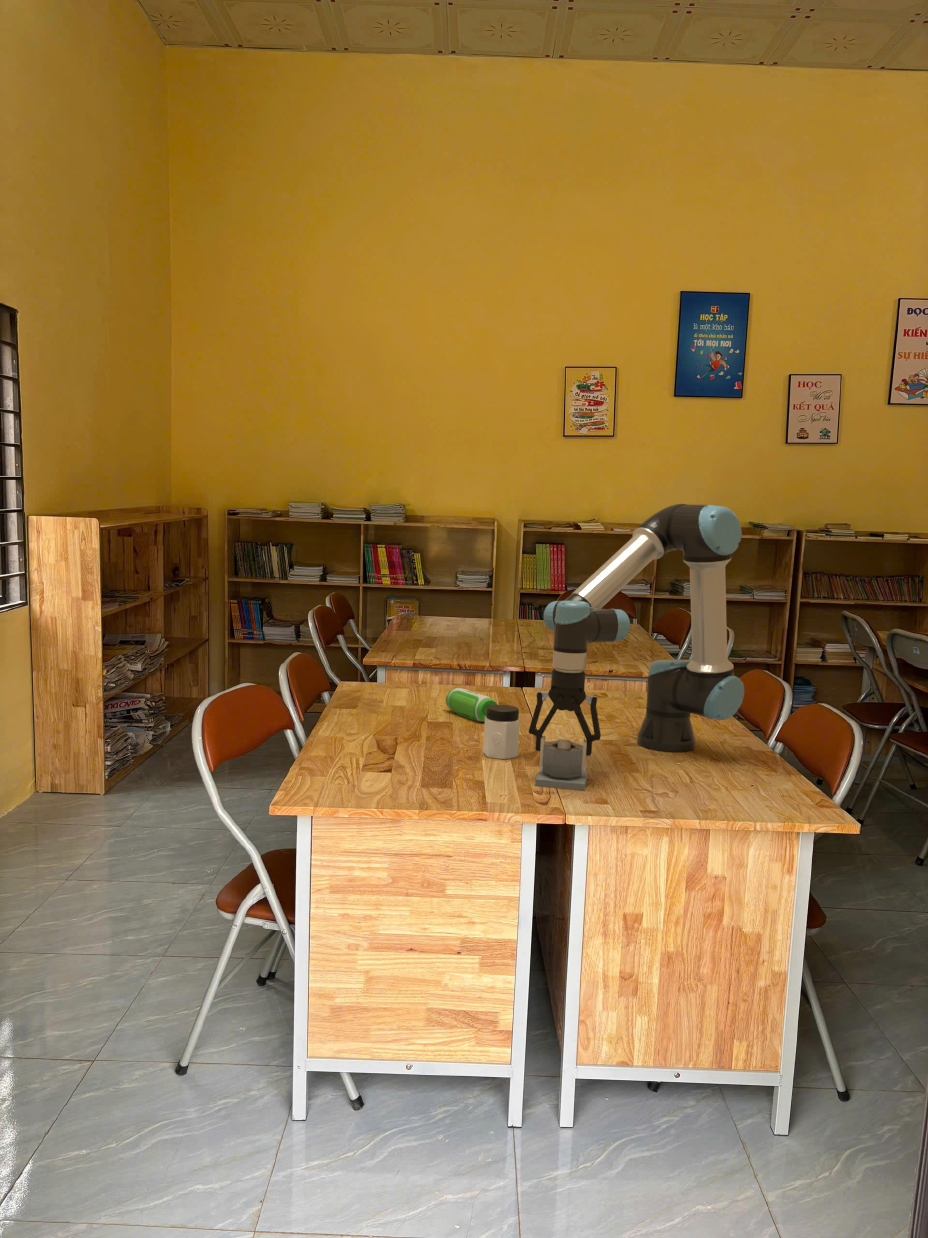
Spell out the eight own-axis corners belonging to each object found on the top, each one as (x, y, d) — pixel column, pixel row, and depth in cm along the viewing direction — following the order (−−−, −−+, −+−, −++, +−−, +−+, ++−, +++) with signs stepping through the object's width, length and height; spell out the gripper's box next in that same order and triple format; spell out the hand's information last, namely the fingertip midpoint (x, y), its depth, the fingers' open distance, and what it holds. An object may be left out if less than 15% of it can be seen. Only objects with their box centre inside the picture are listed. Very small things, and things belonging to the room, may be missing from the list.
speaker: (499, 722, 281) (500, 697, 280) (478, 725, 277) (479, 699, 276) (464, 710, 295) (465, 685, 294) (443, 712, 291) (445, 687, 290)
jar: (478, 756, 243) (480, 709, 241) (487, 749, 250) (489, 703, 249) (513, 761, 240) (516, 713, 239) (521, 753, 248) (524, 706, 246)
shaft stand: (587, 777, 229) (590, 737, 228) (584, 790, 218) (587, 749, 217) (540, 772, 231) (542, 733, 230) (535, 785, 220) (537, 744, 219)
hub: (582, 768, 228) (584, 743, 227) (580, 778, 219) (581, 752, 219) (545, 764, 229) (546, 739, 229) (540, 775, 221) (542, 748, 220)
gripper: (617, 670, 223) (610, 767, 226) (523, 663, 227) (517, 758, 230) (616, 676, 216) (609, 776, 219) (519, 668, 220) (513, 766, 222)
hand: (562, 767), depth 224 cm, fingers closed on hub, 9 cm apart
